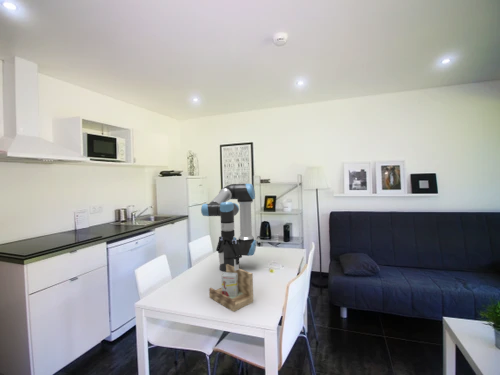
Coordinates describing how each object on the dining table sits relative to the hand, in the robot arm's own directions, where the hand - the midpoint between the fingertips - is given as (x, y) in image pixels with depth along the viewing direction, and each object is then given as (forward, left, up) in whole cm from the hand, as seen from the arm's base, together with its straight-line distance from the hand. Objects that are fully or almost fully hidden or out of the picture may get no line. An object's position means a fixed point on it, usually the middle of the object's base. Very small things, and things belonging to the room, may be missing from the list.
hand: (229, 266), depth 140 cm
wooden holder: (0, +1, -19) cm, 19 cm away
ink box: (0, 0, -16) cm, 16 cm away
